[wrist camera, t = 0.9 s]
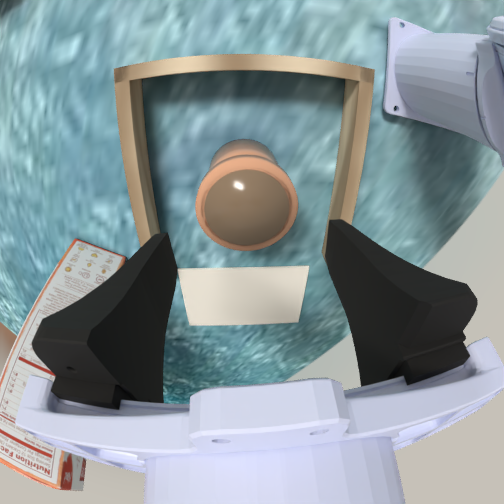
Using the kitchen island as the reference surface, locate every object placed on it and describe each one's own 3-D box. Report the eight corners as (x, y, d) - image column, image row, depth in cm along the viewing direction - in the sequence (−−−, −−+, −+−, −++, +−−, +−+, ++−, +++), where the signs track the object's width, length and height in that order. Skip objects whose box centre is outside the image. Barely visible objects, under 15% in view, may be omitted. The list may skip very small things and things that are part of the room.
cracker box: (116, 336, 31) (84, 493, 14) (74, 320, 29) (29, 471, 12) (131, 255, 24) (64, 496, 7) (75, 234, 22) (-26, 449, 5)
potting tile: (308, 265, 25) (309, 266, 25) (297, 320, 30) (298, 322, 30) (178, 268, 25) (177, 269, 25) (189, 323, 30) (189, 325, 29)
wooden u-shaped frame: (358, 68, 15) (374, 69, 13) (331, 252, 25) (339, 269, 23) (128, 68, 14) (113, 68, 12) (154, 255, 24) (148, 274, 22)
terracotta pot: (283, 135, 18) (303, 161, 13) (279, 204, 22) (293, 251, 17) (203, 135, 18) (191, 162, 13) (207, 205, 21) (199, 253, 16)
